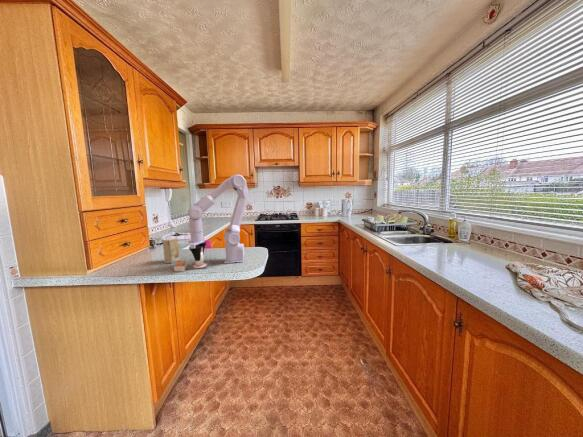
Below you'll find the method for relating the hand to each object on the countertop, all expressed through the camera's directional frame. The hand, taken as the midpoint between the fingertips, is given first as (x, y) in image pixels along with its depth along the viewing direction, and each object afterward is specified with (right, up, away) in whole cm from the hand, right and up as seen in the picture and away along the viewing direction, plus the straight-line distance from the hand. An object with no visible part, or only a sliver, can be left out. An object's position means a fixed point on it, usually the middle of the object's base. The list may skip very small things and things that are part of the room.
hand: (199, 259), depth 112 cm
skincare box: (-19, -3, +11) cm, 22 cm away
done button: (-8, -3, -3) cm, 9 cm away
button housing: (-8, -5, -2) cm, 9 cm away
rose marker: (0, -2, 0) cm, 2 cm away
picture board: (0, -4, +2) cm, 4 cm away
